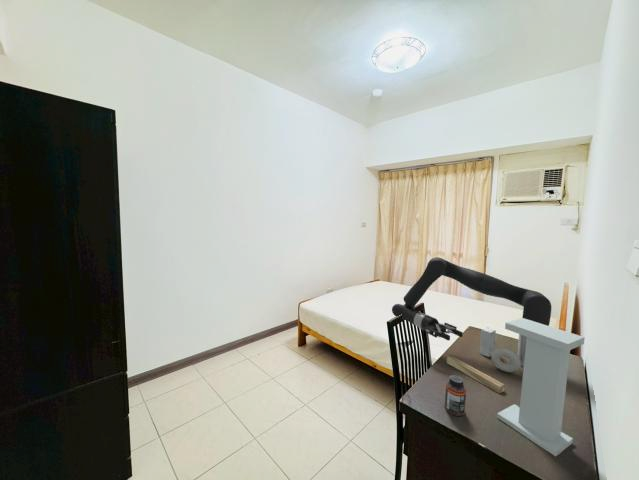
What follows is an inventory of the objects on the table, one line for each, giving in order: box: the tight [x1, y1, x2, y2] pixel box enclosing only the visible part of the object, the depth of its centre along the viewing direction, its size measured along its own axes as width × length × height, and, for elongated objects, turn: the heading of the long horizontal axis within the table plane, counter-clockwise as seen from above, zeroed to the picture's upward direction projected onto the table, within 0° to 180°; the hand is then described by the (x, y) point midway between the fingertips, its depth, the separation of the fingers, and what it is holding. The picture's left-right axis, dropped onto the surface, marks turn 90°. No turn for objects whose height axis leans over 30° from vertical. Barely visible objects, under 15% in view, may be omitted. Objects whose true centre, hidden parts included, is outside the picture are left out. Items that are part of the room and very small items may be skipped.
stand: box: [496, 317, 585, 457], centre depth 77 cm, size 10×15×32 cm, turn 26°
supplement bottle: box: [444, 374, 467, 417], centre depth 85 cm, size 6×6×11 cm
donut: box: [490, 347, 521, 373], centre depth 108 cm, size 10×4×10 cm, turn 51°
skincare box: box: [479, 326, 497, 358], centre depth 122 cm, size 6×4×12 cm
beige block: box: [446, 355, 505, 394], centre depth 105 cm, size 3×22×3 cm, turn 26°
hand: (455, 336), depth 111 cm, fingers open, 8 cm apart
